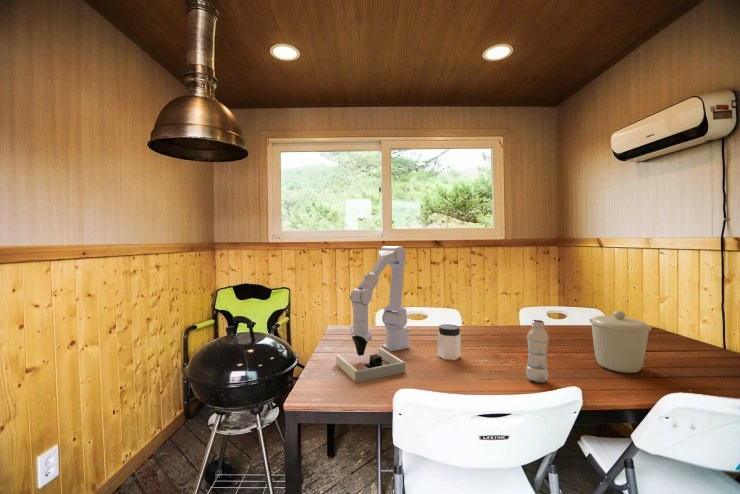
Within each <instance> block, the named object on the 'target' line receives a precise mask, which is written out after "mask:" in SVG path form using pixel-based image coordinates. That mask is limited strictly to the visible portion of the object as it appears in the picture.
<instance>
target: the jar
mask: <svg viewBox="0 0 740 494" xmlns="http://www.w3.org/2000/svg"><path fill="white" fill-rule="evenodd" d="M461 337H462V335H461V329H460V326H458V325H455V324H450V323H444V324H440V325H438V332H437V356H438V357H439V358H441V359H442V360H449V361H457V360H458V359H459V358H460V357H461V343H462V342H461Z"/></svg>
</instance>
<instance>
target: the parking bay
mask: <svg viewBox="0 0 740 494" xmlns="http://www.w3.org/2000/svg"><path fill="white" fill-rule="evenodd" d="M377 349H378V351H377V355H379V356H381V357H382V361H384V362H386V363H387V364H384V365H382V366H379V367H373V368H368V367H367V368H364V369H360V370H359V369H357V368H355V366H353V365H352V363H351V364H350V363H349V362H348V361H347V360H346V359H345V358H344V357H342V355H340V354H338V353H337V354H335V361H336V362H335V364H336V365H337V366H338V367H339V368H340V369H341V370H342V371H343V372H344V373H345V374H346V375H347V376H348V377H350V378H351V379H352V380H353V381H354V382H355V384H357V383H362V382H366V381H371V380H375V379H381V378H384V377H389V376H390V377H391V376H395V375H399V374H403V373H406V362H405V361H403V360H401V359H400V358H398V357H397V356H395V355H393V354H392V353H390V352H389V351H387V349H386V350H385V349H384V348H382V347H378V348H377Z"/></svg>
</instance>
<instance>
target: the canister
mask: <svg viewBox="0 0 740 494" xmlns="http://www.w3.org/2000/svg"><path fill="white" fill-rule="evenodd" d="M588 320H589V323H590V324H591V331H592V332H591V333H592V334H591V335H592V341H593V349H594V350H593V351H594V355H595V356H594V357H595V360H596V362H597V363H598V364H599V366H601V367H602V368H605V369H607V370H609V371H613V372H617V373H624V374H634V373H638V372H639V371H641V369H642V368H643V364H644V361H645V356H646V350H647V345H648V338H649V332H650V331H651V330H652V327H651V325H648V324H647V323H645V322H644V321H642V320H639V319H635V318H631V317H627V316H626V313H625V312H624V311H622V310H614V311H613V315H597V316H594V317H592V318H590V319H588Z"/></svg>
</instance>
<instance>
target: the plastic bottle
mask: <svg viewBox="0 0 740 494" xmlns="http://www.w3.org/2000/svg"><path fill="white" fill-rule="evenodd" d="M545 327H546V326H545V321H544V320H541V319H533V320H531V328H530V329H529V331H528V332H527V335H526V339H527V346H528V358H527V365H526V368H525V374H526V378H527V379H528V380H530V381H532V382H535V383H545V382H547V380H548V377H549V371H548V369H549V368H548V364H547V363H548V361H547V356H548V355H547V354H548V347H549V342H550V338H549V334H548V333H547V331H546V330H545Z"/></svg>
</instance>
